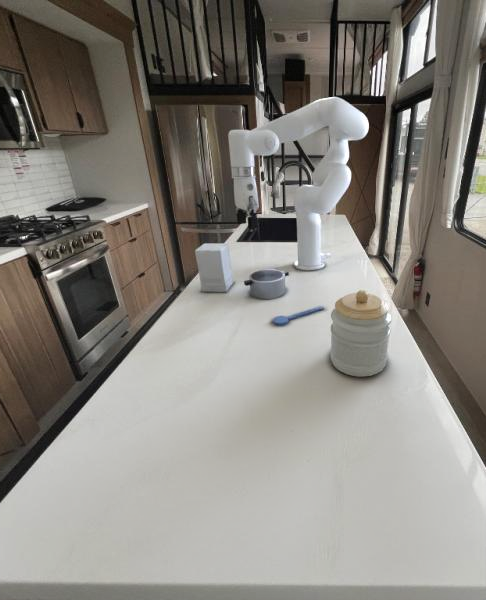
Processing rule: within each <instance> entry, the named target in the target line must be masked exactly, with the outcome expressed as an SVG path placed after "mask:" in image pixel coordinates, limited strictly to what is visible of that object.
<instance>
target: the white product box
mask: <svg viewBox="0 0 486 600" xmlns="http://www.w3.org/2000/svg"><path fill="white" fill-rule="evenodd" d="M229 247H230V246H229V243H227V242H225V243H222V242H221V243H212V242H211V243H210V242H209V243H203V244H202V245H200V246H199V247H197V248H196V249H195V250H194V255H195V259H196V260H195V261H196V266H197V271H198V275H199V282H200V287H201V291H202V292H206V293H207V292H212V293H215V292H218V293H219V292H220V293H226V292H227V291H228V290H229V289H230V288H231V286H232V285H233V284H234V276H233V270H232V269H233V268H232V261H231V255H230V248H229Z"/></svg>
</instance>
